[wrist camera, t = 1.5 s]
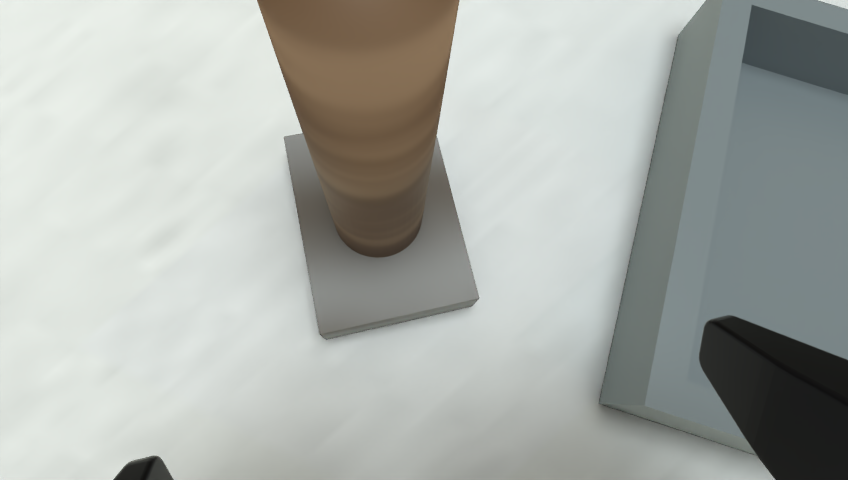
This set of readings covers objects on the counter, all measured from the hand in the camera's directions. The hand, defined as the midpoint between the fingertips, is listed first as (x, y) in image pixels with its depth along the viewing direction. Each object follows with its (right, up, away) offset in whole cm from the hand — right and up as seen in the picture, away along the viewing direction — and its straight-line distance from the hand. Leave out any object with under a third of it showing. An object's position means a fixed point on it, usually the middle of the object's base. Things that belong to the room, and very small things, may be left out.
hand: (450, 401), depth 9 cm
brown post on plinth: (-2, +3, +14) cm, 15 cm away
